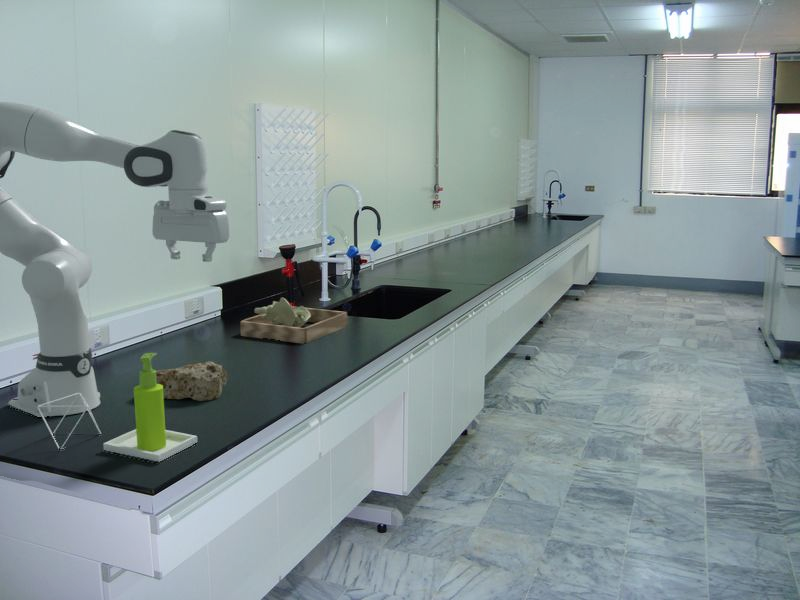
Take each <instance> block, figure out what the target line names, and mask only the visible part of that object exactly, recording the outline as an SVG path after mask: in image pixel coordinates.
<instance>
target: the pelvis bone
mask: <svg viewBox="0 0 800 600" xmlns="http://www.w3.org/2000/svg"><path fill="white" fill-rule="evenodd" d="M291 306H292V305H291V304H290V303H289V301H288V300H287V299H286V298H284V297H280V299H279V301H275V300H273V301H272V304H269V305H267V306H262V307H255V308H254V311H253V312H254V313H255V314H256V315H257V314H258V315H260V314H263V315H262V316H261V318H262V320H267V319H271V320H272V322H273V323H274V325H282V326H290V327H299V328H302V327H303V326H305V324H306V323H308V322H307V320H308V319H309V318H310V317H311V314H310V313H309V311H308V310H307V309H306V308H307V307H306V306H305V307H304V306H303V305H300V306H298V307H299V308H298V309H292V307H291ZM275 318H276V319H275Z"/></svg>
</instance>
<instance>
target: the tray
mask: <svg viewBox="0 0 800 600" xmlns="http://www.w3.org/2000/svg"><path fill="white" fill-rule="evenodd" d="M165 432H166V446H165V447H164V448H162V449H160V450H156V451H145V450H140V449H138V448H137V435H136V428H135V429H133V430H131V431H128V432H126V433H123V434H121V435H119V436H117V437H115V438H112V439H110V440H108V441H105V442H103V451H104V450H106V451H111V452H116V453H120V454H125V455H130V456H135V457H140V458H144V459H149V460H153V461H158V462H160V461H162V460H164V459H166V458H168V457H170V456H172V455H174V454H176V453H178V452H180V451H182V450H184V449H186V448H188V447H190V446H192V445H193V444H195V443H197V442H198V436H197V435H192V434H188V433H184V432H178V431H175V430H167V429H165ZM192 447H193V446H192Z"/></svg>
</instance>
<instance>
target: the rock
mask: <svg viewBox="0 0 800 600" xmlns="http://www.w3.org/2000/svg"><path fill="white" fill-rule="evenodd" d="M228 378H229V375H228V373H227V370H224V368H223V366H222V365H220V364H217V363H215V362H213V361H210V360H207V361H205V362H204V363H201V362H198V363H197V362H196V363H193V364H187V365H183V366H179V367H176V368H169V369H160V370H156V381H157V384H161V385H163V395H164V399H169V400H170V399H171V400H182V399H185V398H186V399H187V398H188V399H189V398H190V399H192V400H194V401H198V402H204V401H212V400H217V399H218V398H220V396H221V394H222V392H223V387H224V386H226V384H227V381H228Z"/></svg>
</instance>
